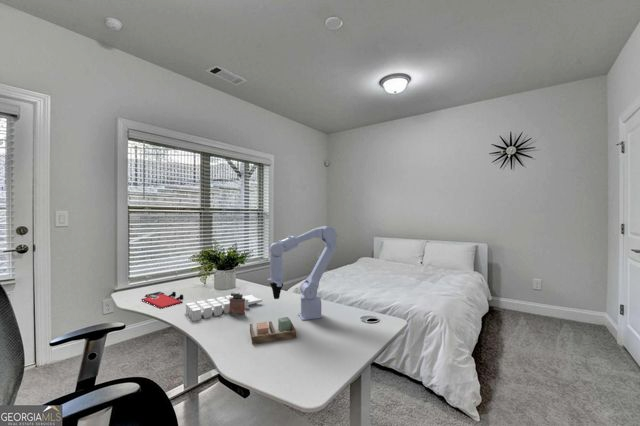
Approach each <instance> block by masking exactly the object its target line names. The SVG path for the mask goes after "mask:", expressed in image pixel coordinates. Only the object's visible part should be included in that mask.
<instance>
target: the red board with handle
mask: <svg viewBox="0 0 640 426" xmlns="http://www.w3.org/2000/svg"><path fill="white" fill-rule="evenodd" d="M146 295H147V296H146V297H144V298H141V299H140V300H144V301H146V302H148V303H150V304H149V305H151V304H152V305H151V306H153V305H155V306H157V307H156V308H158V307H159V308H158V309H160V308H162V309H165V307H166V308H170V307H173V306H176V304H177V305H180V303H181V304H183V303H184V302H183V301H181V300H184V294H183V293H182V294H180V295H179V296H178V297H176V298H175V297H173V296H176V295H177V293H176V291H172V293H170V294H169V295H167V294H165V292H162V291H155V292H152V293H148V294H147V293H146ZM148 296H149V297H148ZM146 302H145V303H146ZM148 303H147V304H148ZM172 305H173V306H172ZM155 306H154V307H155ZM169 306H170V307H169Z"/></svg>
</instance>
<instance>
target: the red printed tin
mask: <svg viewBox="0 0 640 426" xmlns="http://www.w3.org/2000/svg"><path fill="white" fill-rule="evenodd" d="M230 295H231V296H233V297H231V298H229V300H230V312H229V313H228V314H229V315H230V316H231V315H233V316H244V315H246V312H245V311H246V309H245V298H242V297H243V296H244V295H243V294H242V293H240V292H238V293H235V292H231V293H230Z"/></svg>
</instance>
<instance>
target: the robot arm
mask: <svg viewBox="0 0 640 426" xmlns="http://www.w3.org/2000/svg"><path fill="white" fill-rule="evenodd" d="M337 237H338V234H337V231H336V229H335V228H334V227H332V226H327V225H321V226H318V227H315V228H313V229H311V230H308V231H306V232H304V233H303V234H300V235H297V236H294V235H287V238H283V239H281V240H280V239H279V240H277V242H273V243H271V245H270V246H269V253H270V256H269V257H270V259H269V275H270V277H269V278H267V282H269V285H270V287H271V290H272V295H273V296H272V297H273V299H274V300H279V299H280V297H281V296H280V295H281V291H282V289H283V286H284V283H283V282H284V275H283V274H284V270H283V269H284V268H283V263H284V261H283V260H284V259H283V254H284V253H286V252H289V251H291V250H294V249H296V248H298V247H299V244H300V243H304V242H306V241H309V240H312V239H314V238H317V239H320V240H322V242H323V244H324V247H323V250H322V252H321V254H320V255H319V256H318V259H317V262H316V263H315V265H314V267H313V269H312V271H311V272H310V274H309V276H307V277H306V279H305V280H304V281H303V282H302V283H301V284H300V286H299V287H300V288H299V289H300V292H301V295H300V312H299V313H298V316H299V317H300V319H301V320H303V321H305V320H307V321H308V320H313V319H321V318H323V316H322V299H321V297H320V296H317V294H318V289H319V287H320V286H319V285H320V280H321V279H322V277H323V275H324V273H325V271H326V268H327V267H328V266H329V263H330V262H331V260H332V258H333V256H334V254H335V252H336V250H337V248H338V247H337V246H338V245H337V243H338V242H337Z"/></svg>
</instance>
